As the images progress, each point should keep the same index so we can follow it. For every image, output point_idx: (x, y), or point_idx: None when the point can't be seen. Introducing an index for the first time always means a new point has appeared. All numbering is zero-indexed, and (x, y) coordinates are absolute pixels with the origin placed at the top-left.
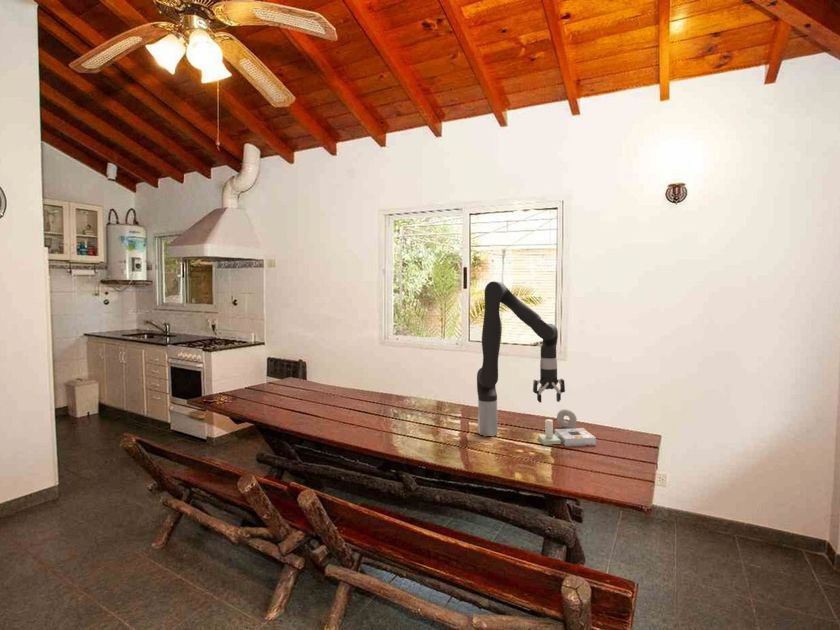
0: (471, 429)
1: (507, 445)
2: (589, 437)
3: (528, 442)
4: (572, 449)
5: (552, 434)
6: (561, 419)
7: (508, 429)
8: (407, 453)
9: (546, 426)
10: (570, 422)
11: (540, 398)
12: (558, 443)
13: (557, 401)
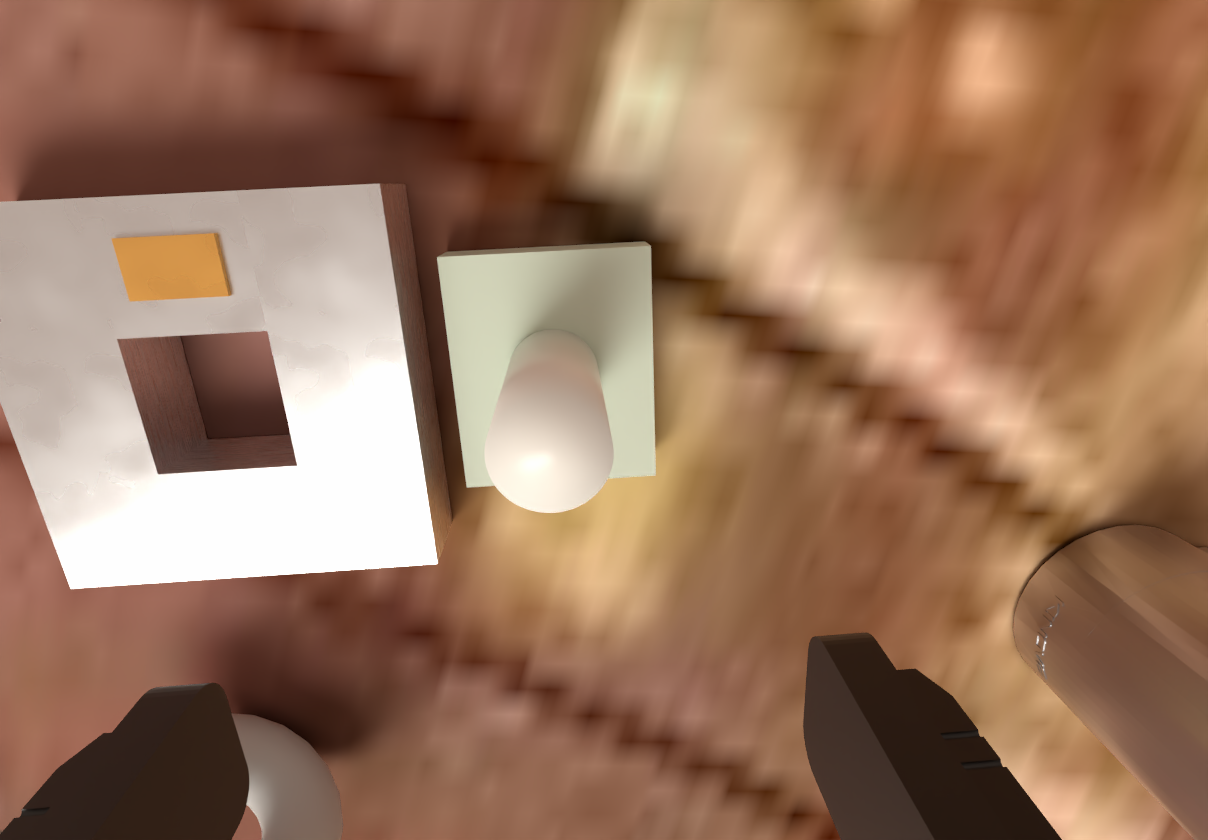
0: None
1: (1054, 260)
2: (18, 218)
3: (792, 344)
4: (336, 65)
5: (516, 354)
6: (293, 819)
7: None
8: None
9: (599, 392)
10: None
11: (915, 733)
12: (470, 251)
13: (230, 722)
